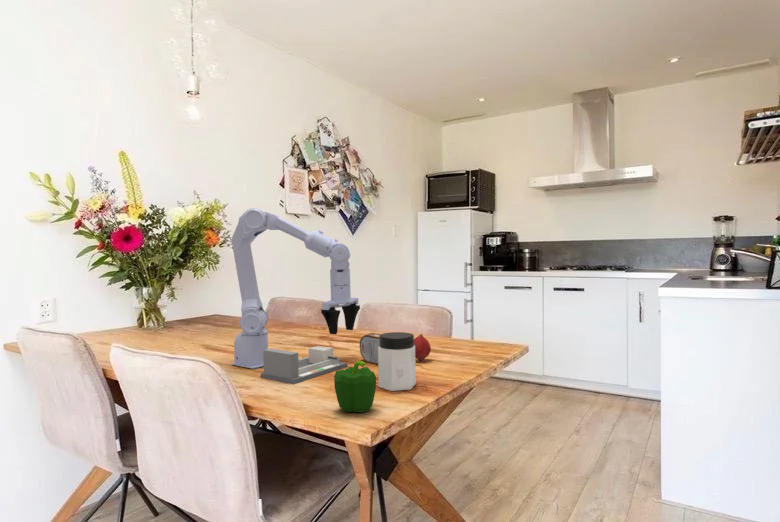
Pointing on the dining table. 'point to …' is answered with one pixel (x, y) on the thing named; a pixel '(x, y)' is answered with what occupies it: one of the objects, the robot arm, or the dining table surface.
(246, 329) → the robot arm
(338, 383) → the bell pepper
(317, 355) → the slider
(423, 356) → the onion
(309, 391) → the dining table surface
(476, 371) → the dining table surface
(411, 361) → the jar
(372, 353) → the tin
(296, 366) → the gauge rail
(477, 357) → the dining table surface
